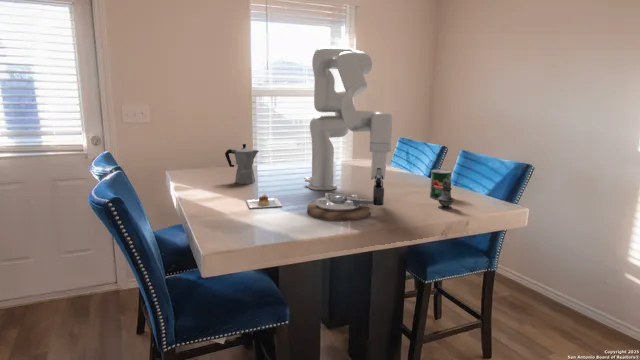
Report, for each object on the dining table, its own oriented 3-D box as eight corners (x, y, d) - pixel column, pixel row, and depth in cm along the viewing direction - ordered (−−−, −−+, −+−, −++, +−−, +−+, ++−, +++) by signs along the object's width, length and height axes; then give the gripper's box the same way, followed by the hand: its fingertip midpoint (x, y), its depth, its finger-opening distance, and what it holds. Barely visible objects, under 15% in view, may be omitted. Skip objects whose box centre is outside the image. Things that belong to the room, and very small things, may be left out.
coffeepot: (258, 179, 205) (257, 142, 201) (260, 183, 196) (259, 144, 192) (225, 180, 201) (224, 143, 198) (226, 184, 192) (224, 145, 189)
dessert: (249, 210, 152) (249, 197, 151) (246, 202, 163) (245, 190, 162) (282, 208, 155) (282, 196, 154) (276, 201, 167) (276, 189, 166)
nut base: (295, 215, 145) (295, 208, 145) (323, 201, 164) (323, 195, 164) (356, 224, 136) (356, 217, 135) (377, 208, 155) (378, 202, 155)
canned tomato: (444, 195, 177) (446, 169, 175) (453, 199, 169) (455, 172, 167) (426, 195, 176) (428, 169, 174) (434, 200, 168) (436, 172, 166)
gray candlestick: (434, 206, 159) (436, 174, 157) (450, 205, 159) (452, 174, 157) (440, 210, 153) (442, 177, 151) (456, 210, 154) (458, 177, 151)
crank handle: (310, 209, 144) (310, 188, 143) (322, 198, 159) (322, 179, 158) (380, 215, 138) (381, 193, 137) (385, 203, 153) (386, 183, 152)
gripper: (370, 144, 160) (368, 188, 163) (368, 150, 143) (366, 199, 146) (390, 144, 159) (388, 189, 162) (391, 150, 142) (388, 200, 145)
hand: (378, 194), depth 154 cm, fingers open, 9 cm apart
